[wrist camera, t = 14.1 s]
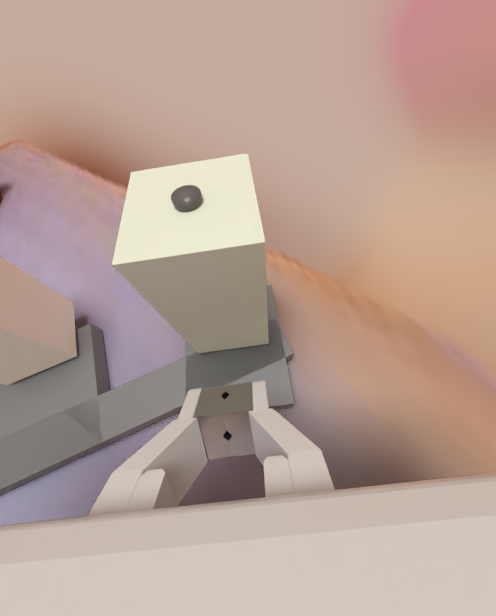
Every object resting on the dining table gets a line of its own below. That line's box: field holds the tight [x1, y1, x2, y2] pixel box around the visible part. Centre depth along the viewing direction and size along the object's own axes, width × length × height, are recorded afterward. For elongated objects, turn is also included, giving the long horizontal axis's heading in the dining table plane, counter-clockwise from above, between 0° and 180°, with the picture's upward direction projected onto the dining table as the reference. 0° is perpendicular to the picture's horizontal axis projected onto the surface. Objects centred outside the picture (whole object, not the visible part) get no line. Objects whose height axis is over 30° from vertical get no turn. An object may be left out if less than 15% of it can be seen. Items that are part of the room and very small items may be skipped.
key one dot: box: [112, 154, 269, 353], centre depth 13 cm, size 5×5×10 cm
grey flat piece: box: [0, 285, 294, 495], centre depth 16 cm, size 12×36×2 cm, turn 114°
